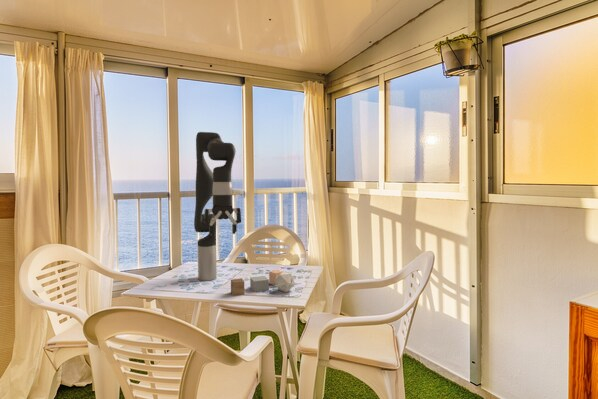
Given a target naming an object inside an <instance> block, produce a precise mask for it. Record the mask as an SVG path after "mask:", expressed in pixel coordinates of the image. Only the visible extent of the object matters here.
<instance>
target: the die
mask: <svg viewBox="0 0 598 399" xmlns="http://www.w3.org/2000/svg"><path fill="white" fill-rule="evenodd" d="M274 280H275V282H276V287H277V290H278V291H280V292H285V293H288V292H289V291H290V290H291V289H292V288H293V287H294V286H296V283H295V281H294V277H293V275H292V273H290V272H286V271H283V272H282V273H281V274H280V275H279V276H278V277H276V278H275V279H274Z"/></svg>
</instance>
